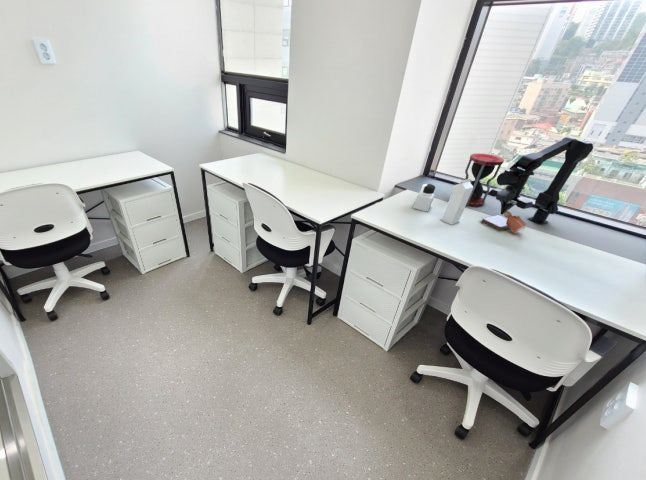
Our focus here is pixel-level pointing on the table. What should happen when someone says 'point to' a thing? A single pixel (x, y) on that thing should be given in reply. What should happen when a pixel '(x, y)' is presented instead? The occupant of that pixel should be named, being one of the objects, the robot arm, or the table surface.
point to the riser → (496, 222)
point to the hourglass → (481, 175)
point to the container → (425, 197)
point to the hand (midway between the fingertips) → (501, 214)
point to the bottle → (514, 222)
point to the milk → (457, 202)
